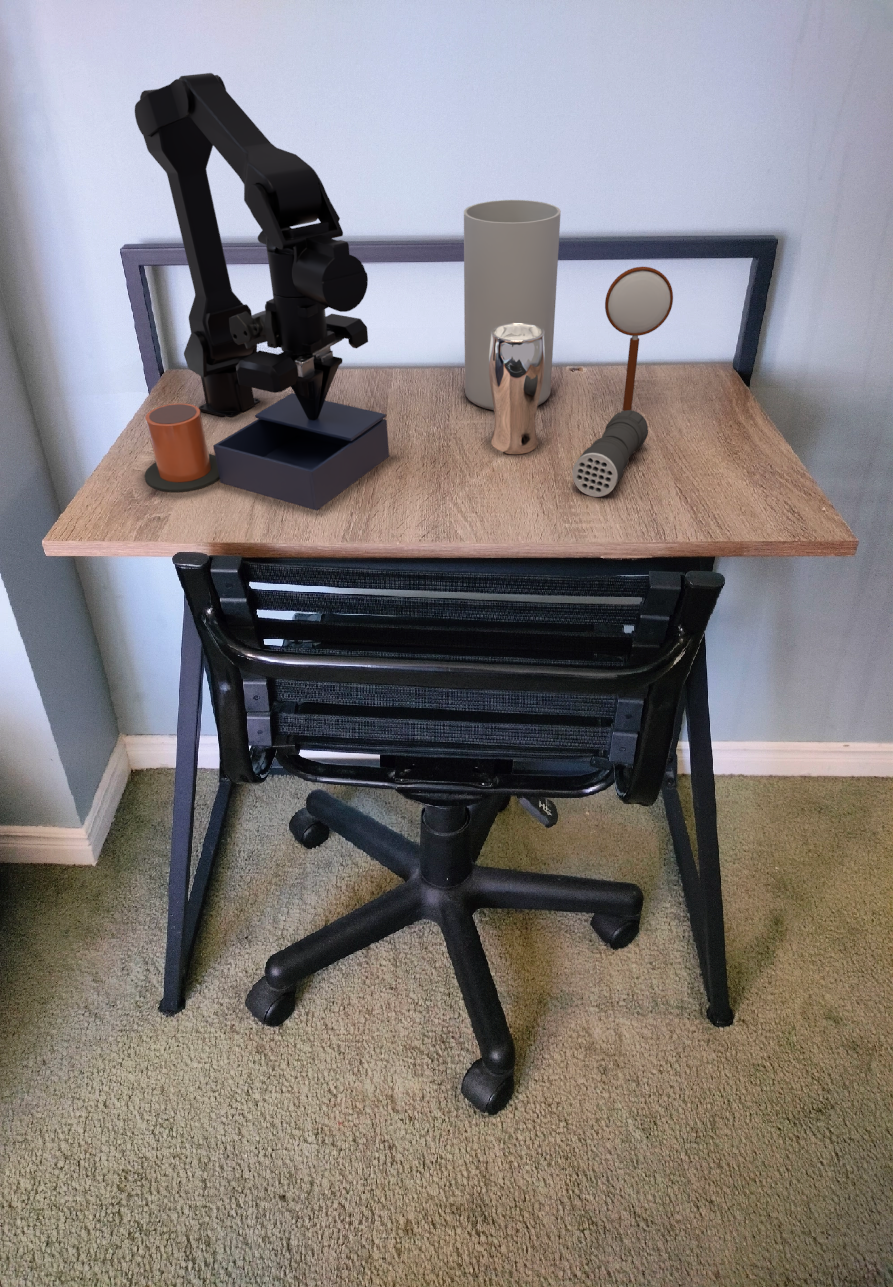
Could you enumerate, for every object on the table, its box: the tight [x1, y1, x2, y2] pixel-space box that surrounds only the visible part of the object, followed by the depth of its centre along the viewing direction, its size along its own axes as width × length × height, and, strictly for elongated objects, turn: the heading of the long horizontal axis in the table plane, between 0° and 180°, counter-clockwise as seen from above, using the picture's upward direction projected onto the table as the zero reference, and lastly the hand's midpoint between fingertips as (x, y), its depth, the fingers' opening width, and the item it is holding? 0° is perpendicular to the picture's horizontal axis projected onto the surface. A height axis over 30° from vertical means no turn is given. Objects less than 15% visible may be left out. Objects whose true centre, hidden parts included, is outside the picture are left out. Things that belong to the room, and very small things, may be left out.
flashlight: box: [571, 409, 649, 498], centre depth 111 cm, size 15×5×5 cm, turn 154°
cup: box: [145, 403, 211, 482], centre depth 110 cm, size 6×6×8 cm
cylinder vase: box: [463, 199, 561, 411], centre depth 123 cm, size 12×12×25 cm
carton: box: [213, 418, 390, 511], centre depth 112 cm, size 16×15×5 cm
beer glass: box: [489, 323, 545, 455], centre depth 114 cm, size 7×7×15 cm
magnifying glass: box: [604, 266, 674, 411], centre depth 118 cm, size 9×2×20 cm, turn 88°
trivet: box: [144, 453, 220, 494], centre depth 113 cm, size 10×10×1 cm
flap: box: [254, 392, 387, 441], centre depth 112 cm, size 8×15×1 cm, turn 60°
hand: (313, 418), depth 111 cm, fingers closed, pressing on flap
